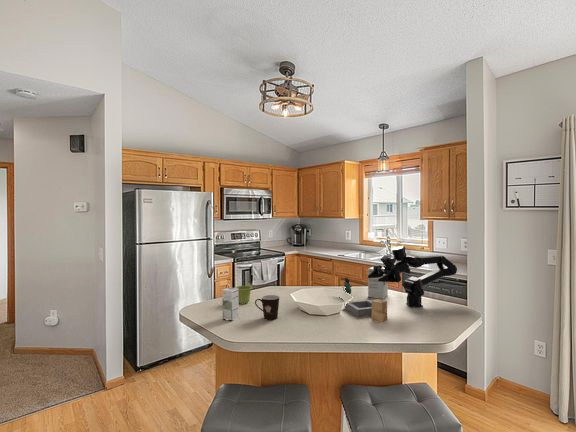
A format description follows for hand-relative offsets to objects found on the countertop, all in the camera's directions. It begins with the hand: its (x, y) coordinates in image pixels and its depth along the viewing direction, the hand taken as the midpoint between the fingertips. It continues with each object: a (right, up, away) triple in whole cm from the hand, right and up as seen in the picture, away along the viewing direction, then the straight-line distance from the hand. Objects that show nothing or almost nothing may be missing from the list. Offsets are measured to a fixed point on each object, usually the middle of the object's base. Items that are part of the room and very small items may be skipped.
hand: (372, 278), depth 164 cm
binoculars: (-10, -16, +29) cm, 35 cm away
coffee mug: (-52, -17, -8) cm, 56 cm away
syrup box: (-70, -18, -9) cm, 73 cm away
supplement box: (+10, -16, +28) cm, 34 cm away
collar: (-5, -16, 0) cm, 17 cm away
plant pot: (-68, -17, +18) cm, 72 cm away
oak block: (-1, -17, -14) cm, 22 cm away
